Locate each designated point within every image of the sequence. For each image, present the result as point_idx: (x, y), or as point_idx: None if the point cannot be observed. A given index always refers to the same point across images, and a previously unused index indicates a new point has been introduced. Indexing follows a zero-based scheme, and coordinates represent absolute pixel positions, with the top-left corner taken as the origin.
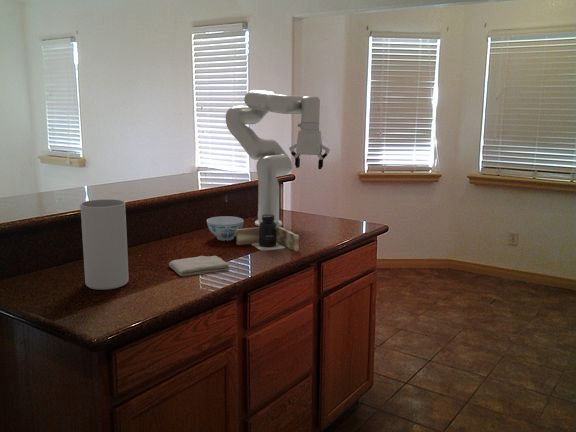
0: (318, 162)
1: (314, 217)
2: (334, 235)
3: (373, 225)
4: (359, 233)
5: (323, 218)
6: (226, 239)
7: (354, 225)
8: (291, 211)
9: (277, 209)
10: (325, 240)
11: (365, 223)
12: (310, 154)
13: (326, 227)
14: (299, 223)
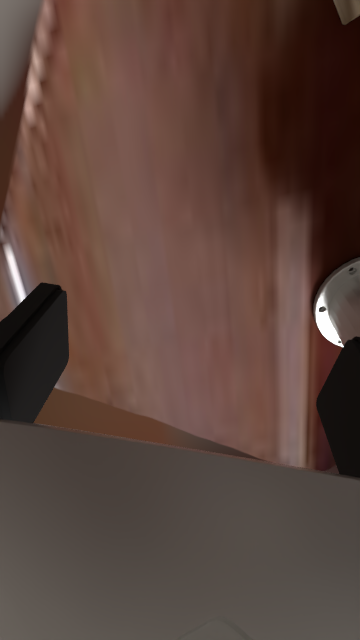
0: (23, 337)
1: (203, 412)
2: (98, 185)
3: None
4: (19, 238)
5: (174, 405)
6: None
7: None
8: None
9: (355, 322)
10: (117, 78)
11: None
12: (129, 440)
13: (148, 300)
14: (248, 336)
